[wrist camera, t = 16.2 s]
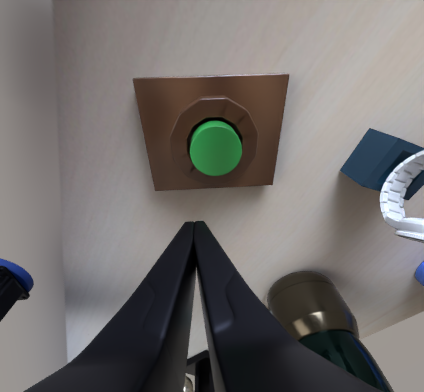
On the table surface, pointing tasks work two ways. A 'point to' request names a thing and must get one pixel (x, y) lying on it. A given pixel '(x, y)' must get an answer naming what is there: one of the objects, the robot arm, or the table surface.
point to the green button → (215, 148)
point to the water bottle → (420, 274)
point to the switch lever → (188, 385)
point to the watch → (390, 177)
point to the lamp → (323, 324)
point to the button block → (208, 111)
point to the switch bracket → (201, 372)
